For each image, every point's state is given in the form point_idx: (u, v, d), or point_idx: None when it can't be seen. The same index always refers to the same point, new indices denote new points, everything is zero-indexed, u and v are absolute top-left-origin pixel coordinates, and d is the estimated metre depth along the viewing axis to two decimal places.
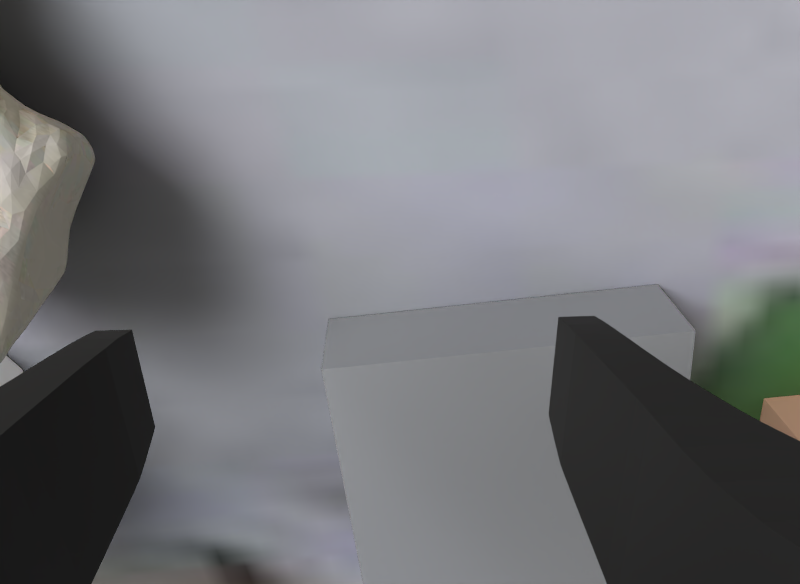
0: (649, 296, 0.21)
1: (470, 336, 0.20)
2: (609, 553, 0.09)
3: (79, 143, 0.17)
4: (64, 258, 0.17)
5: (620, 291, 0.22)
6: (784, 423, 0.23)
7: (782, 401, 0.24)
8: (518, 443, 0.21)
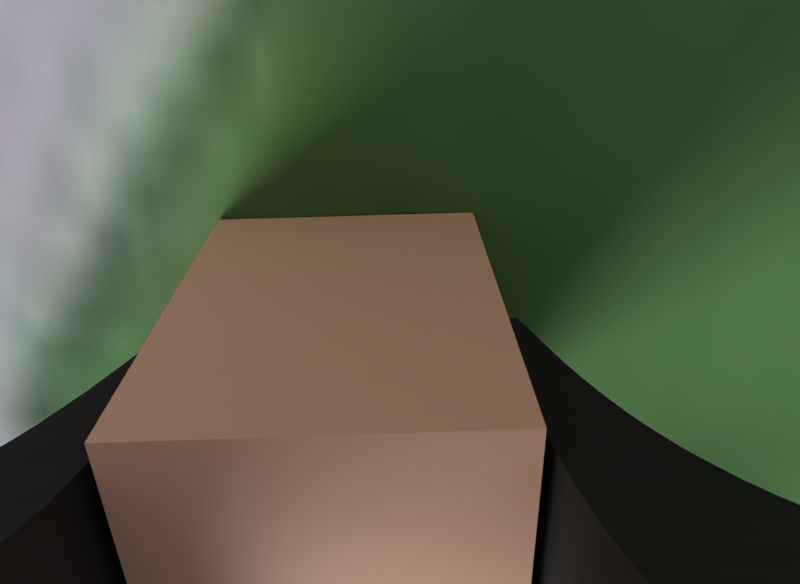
0: None
1: None
2: None
3: None
4: None
5: None
6: None
7: None
8: None
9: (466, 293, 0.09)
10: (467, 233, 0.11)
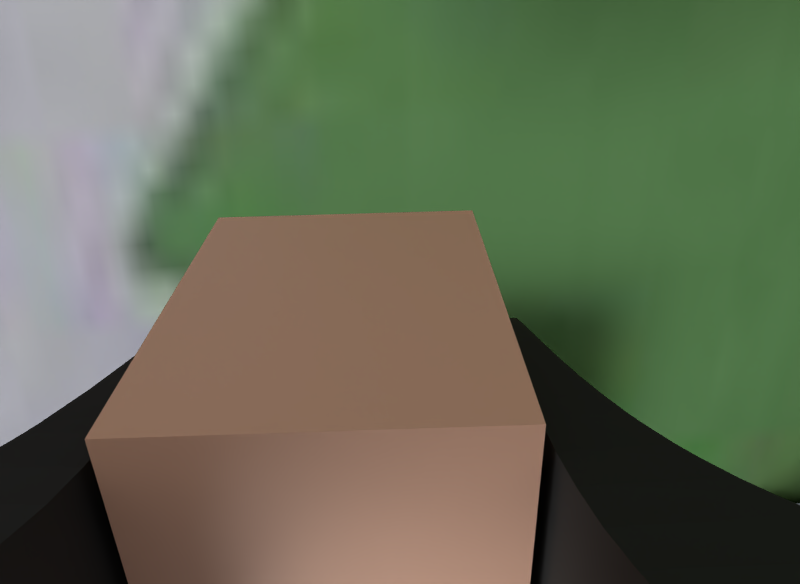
0: None
1: None
2: None
3: None
4: None
5: None
6: None
7: None
8: None
9: (465, 290, 0.09)
10: (467, 230, 0.11)
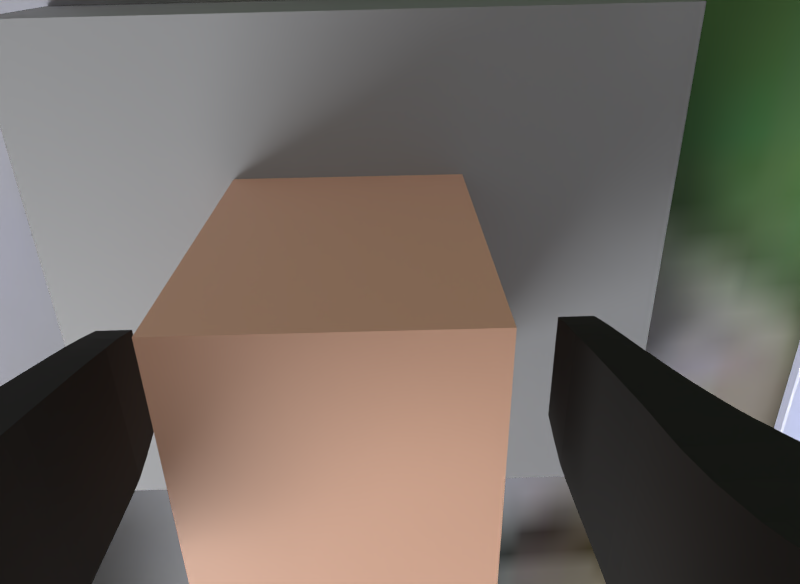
0: None
1: None
2: (609, 553, 0.09)
3: None
4: None
5: None
6: None
7: None
8: None
9: (453, 234, 0.10)
10: (456, 189, 0.12)
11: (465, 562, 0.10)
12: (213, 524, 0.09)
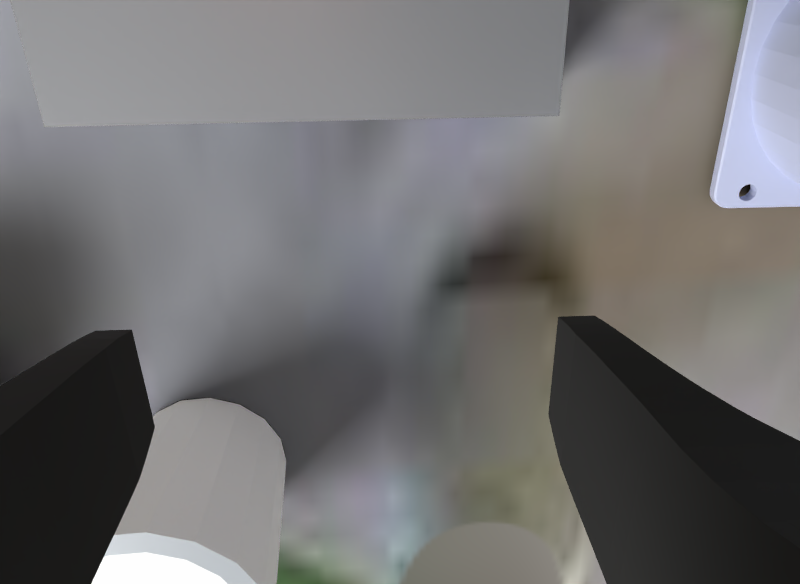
0: None
1: None
2: (609, 553, 0.09)
3: None
4: None
5: None
6: None
7: None
8: None
9: None
10: None
11: None
12: None
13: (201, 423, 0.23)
